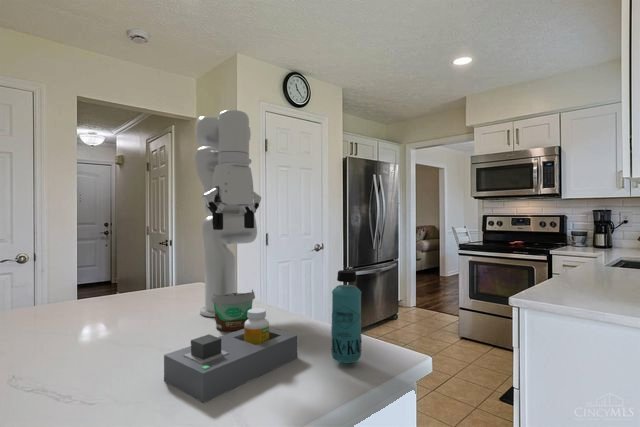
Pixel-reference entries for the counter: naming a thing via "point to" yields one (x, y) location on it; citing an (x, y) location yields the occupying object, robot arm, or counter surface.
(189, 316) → the counter surface
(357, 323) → the beverage bottle
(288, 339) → the control panel
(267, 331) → the supplement bottle
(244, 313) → the food container
